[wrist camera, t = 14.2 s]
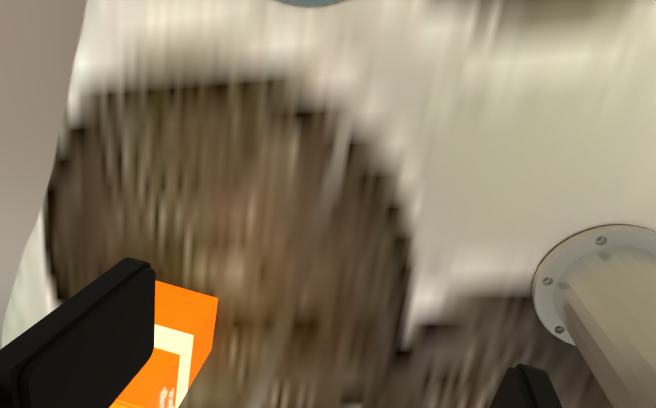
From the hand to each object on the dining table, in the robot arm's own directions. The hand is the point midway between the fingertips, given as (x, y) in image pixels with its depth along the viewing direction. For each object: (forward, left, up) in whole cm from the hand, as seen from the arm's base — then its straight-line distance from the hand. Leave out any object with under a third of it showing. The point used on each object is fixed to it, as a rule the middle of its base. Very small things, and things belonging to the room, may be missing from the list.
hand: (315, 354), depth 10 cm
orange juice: (+17, +24, -27) cm, 40 cm away
